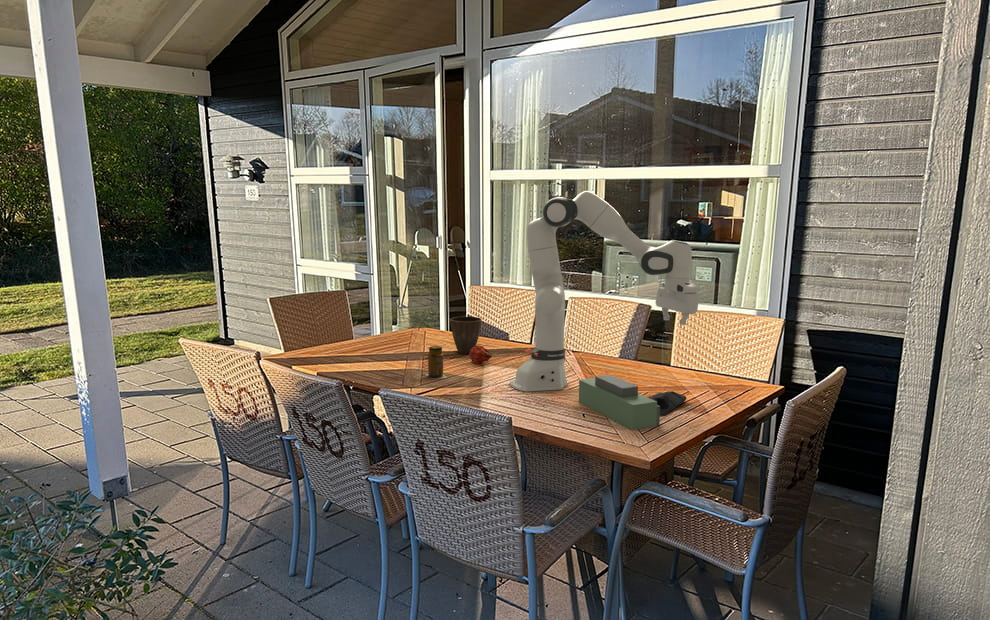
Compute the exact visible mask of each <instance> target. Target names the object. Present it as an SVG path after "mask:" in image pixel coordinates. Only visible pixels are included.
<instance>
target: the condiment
mask: <svg viewBox="0 0 990 620" xmlns="http://www.w3.org/2000/svg"><path fill="white" fill-rule="evenodd" d="M427 369H428V370H427V371H428V373H425V374H424V375H425V376H426V377H427V378H428V379H430V380H440V379H441V380H442V379H447V378H448V377H447V376H446V375H445V374H444V354H443V347H442V346H441V345H440V346H439V345H433V346H429V348H428V354H427Z"/></svg>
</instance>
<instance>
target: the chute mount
mask: <svg viewBox="0 0 990 620" xmlns="http://www.w3.org/2000/svg"><path fill="white" fill-rule="evenodd" d="M648 397H649V396H645V395H643V394H641V393H639V386H638V385H636V384H634V383H631V382H629V381H626V380H625V379H624V380H623V378H619V377H616V376H615V375H612V374H605V375H596V376H595V377H591V378H583V379H578V403H580V404H582V405H584V406H585V407H587V408H590V409H592V410H594V411H596V412H597V413H599V414H600V415H603V416H605V417H607V418H608V419H610V420H613V421H614V422H616V423H618V424H620V425H621V426H623V427H625V428H627V429H629V430H631V431H635V430H642V429H648V428H654V427H657V426H658V425H660V422H661V421H660V418H661V416H660V406H659V405H657V401H655V400H652V399H650V398H648Z"/></svg>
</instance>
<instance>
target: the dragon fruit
mask: <svg viewBox="0 0 990 620" xmlns="http://www.w3.org/2000/svg"><path fill="white" fill-rule="evenodd" d="M467 356H468V357H470V361H471V363H477V364H478V365H484V363H485V362H487V363H488V362H489V361H490V359H492V355H491V353H490V352H489V350H488V349H487V348H485V347H484V346H483V345H479V344H476V346H474V347H473V348H471V350H470V352H469V354H467Z"/></svg>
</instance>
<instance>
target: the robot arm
mask: <svg viewBox="0 0 990 620" xmlns="http://www.w3.org/2000/svg"><path fill="white" fill-rule="evenodd" d="M574 220H578V221H580V222H582V223H583V224H584V225H586V226H587V227H588V228H589V229H590V230H592V231H593V232H594V233H596V234H597V235H599V236H600V237H602V238H604V239H606V240H610V241H613V242H615V243H617V244H619V245H620V246H622V248H624V249H626V251H628V252H629V253H630V254H631V255H632V256H634V258H635V259H636V260H637V262H638V265H639V266H640V268H641V270H642V271H643V272H644V273H646V274H647V275H649V276H658V275H665V276H664V282H661V283H660V284H659V285H658V289H657V292H656V296H655V305H656V307H658V308H661V311H662V316H663V321H670V317H671V316H670V315H669V311H670V310H671V311H675V312H678V313H681V316H682V317H681V319H679V325H681V326H686V325H687V320H688V319H689V316H690V315H696V313H697V312H698V310H699V295H698V293H700V287H699V286H698V285H696V284H695V283H694V282H693V281H691V274H690V272H691V268H692V255H693V254H692V247H691V246H690V243H689V244H688V242H684V241H681V240H675V239H671V240H670V241H668V242H667V243H665V244H662V245H660V246H657V247H656V246H652V245H650V244H647V243H646V242H644V241H643V240H642V239H641V238H640V237H638V235H636V234H635V233H633V232H632V230H631V229H630V228H629V227H628V226H627V224H626V222H625V221H624V219H623V217H622V216H621V215H620V214H619V212H618V211H617V210H616V209H615V208H614V207H613V206H612V205H611V204H609V203H608V202H607V201H606V200H604V199H603V198H601V197H600V196H599V195H597V194H595V193H594V192H592V191H590V190H585V191H582V192H580V193H579V194H577V195H576V197H574V198H573V199H571V198H567V197H564V196H554V197H552V198H551V199H549V200H548V201H546V203H545V204H544V206H543V209H542V216H541V217H539V218H535V219H532V220H531V221H529V223H528V224H527V225H526V245H527V251H528V252H527V253H528V260H529V266H530V271H531V275H532V281H533V285H534V290H535V299H534V301H535V302H534V308H535V309H534V310H535V315H534V318H535V334H534V335H535V338H534V340H535V343H534V344H535V345H534V347H533V349H532V348H526V350H525V351H526V353H527V354H528V355H530V358H529V359H527V360H526V361H525V362H524V363H523V364H522V365H520V366H519V367H518V368H517V369H516V372H515V373H516V374H515V377H514V378H515V379H512V380H509V385H510V387H512V388H513V389H516V390H517V391H520V392H521V391H522V392H524V393H525V392H541V391H555V390H556V391H559V390H560V391H561V390H563V389H564V388H565V387H566V386H568V381H567V380H568V379H567V375H566V370H565V369H566V367H565V361H566V360H565V359H566V348H565V317H566V315H565V314H566V313H565V312H566V310H565V309H566V295H565V287H564V282H563V281H564V280H563V276H562V269H561V263H560V256H559V250H558V244H557V238H556V233H557V230H558V229H559V228H562V227H566V226H567V225H569V224H570V223H571V222H572V221H574Z"/></svg>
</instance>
